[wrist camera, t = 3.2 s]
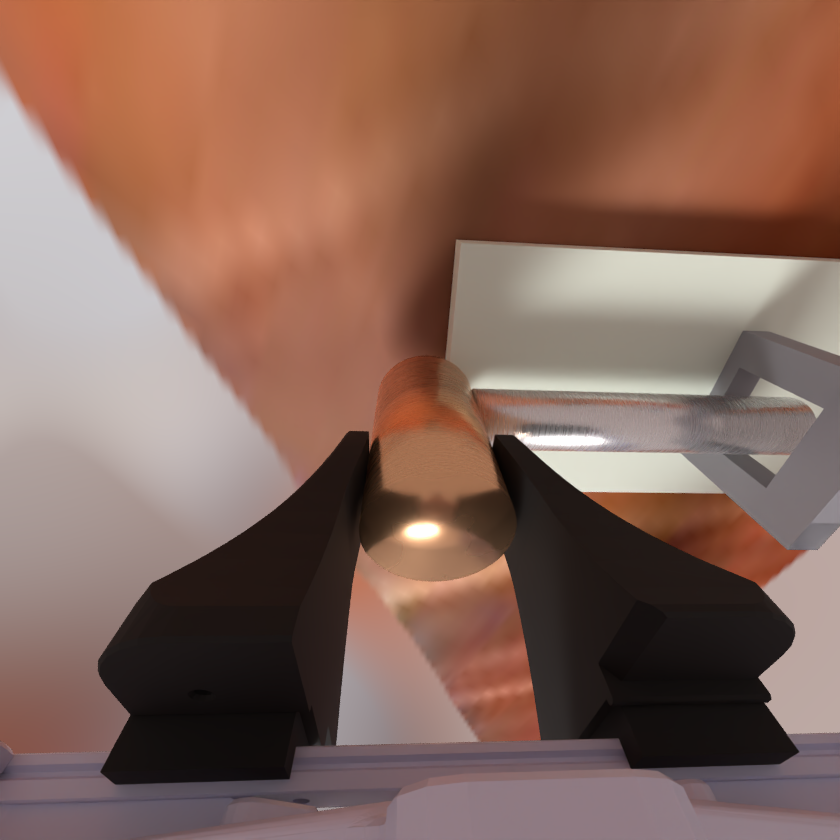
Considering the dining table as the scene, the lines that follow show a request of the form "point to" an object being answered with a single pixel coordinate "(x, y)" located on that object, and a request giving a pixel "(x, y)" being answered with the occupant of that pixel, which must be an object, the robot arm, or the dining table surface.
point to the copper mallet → (540, 431)
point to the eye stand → (666, 358)
